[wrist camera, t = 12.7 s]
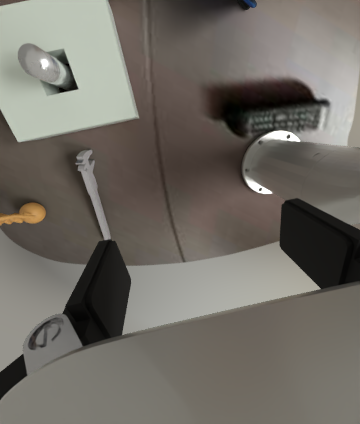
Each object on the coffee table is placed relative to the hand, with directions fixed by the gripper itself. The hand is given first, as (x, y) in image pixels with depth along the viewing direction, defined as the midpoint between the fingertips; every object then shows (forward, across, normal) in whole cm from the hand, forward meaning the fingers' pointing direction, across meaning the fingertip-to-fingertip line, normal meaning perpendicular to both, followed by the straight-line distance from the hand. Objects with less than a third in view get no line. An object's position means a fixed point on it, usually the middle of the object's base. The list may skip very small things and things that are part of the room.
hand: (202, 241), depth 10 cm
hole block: (+28, +13, -15) cm, 35 cm away
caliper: (+29, +16, +5) cm, 33 cm away
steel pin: (+28, +13, -15) cm, 34 cm away
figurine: (+28, +28, +3) cm, 40 cm away
